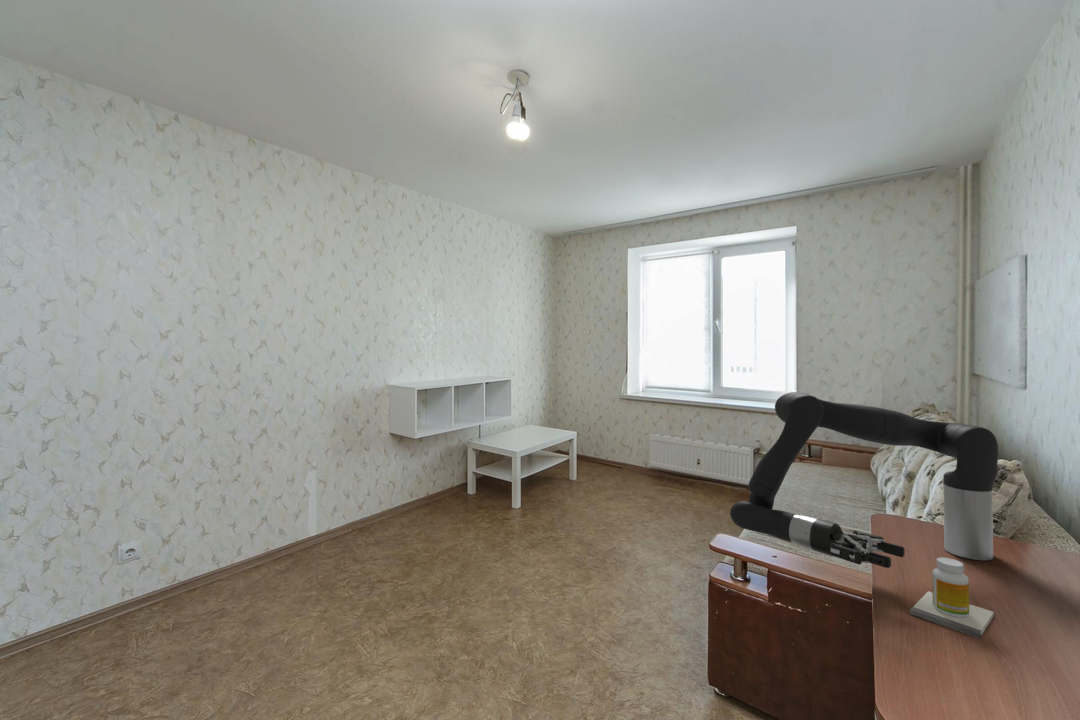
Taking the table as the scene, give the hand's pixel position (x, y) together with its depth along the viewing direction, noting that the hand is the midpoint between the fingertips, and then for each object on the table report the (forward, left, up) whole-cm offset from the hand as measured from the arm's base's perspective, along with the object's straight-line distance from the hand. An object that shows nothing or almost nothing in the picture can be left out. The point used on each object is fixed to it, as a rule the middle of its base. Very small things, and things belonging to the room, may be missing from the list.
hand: (897, 557), depth 96 cm
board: (0, +9, -8) cm, 12 cm away
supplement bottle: (0, +9, -8) cm, 12 cm away
